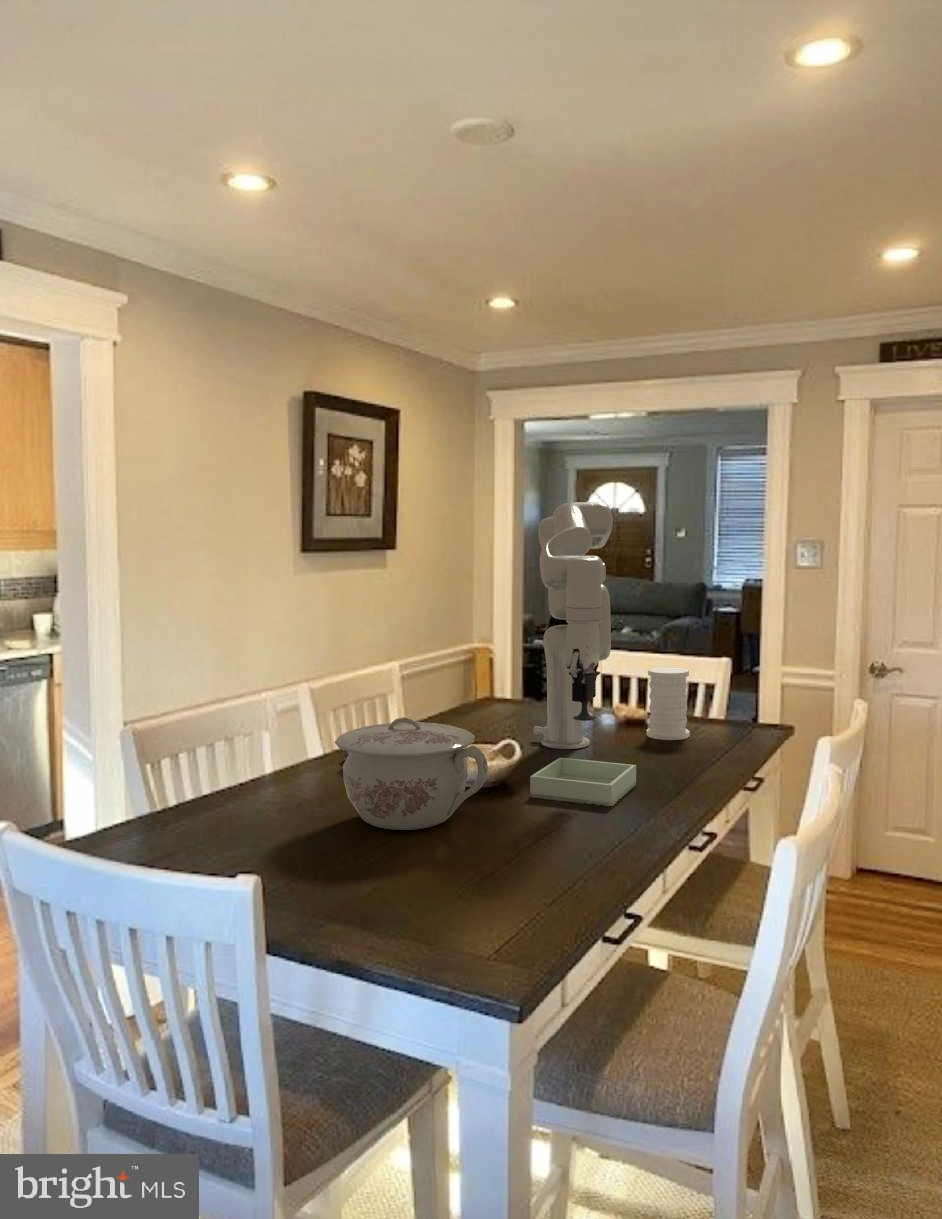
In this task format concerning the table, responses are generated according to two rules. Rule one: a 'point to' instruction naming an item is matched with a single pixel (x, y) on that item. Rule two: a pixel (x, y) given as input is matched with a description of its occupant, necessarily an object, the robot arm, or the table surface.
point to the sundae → (588, 693)
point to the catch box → (583, 781)
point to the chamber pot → (409, 772)
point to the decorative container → (668, 703)
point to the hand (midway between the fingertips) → (584, 698)
